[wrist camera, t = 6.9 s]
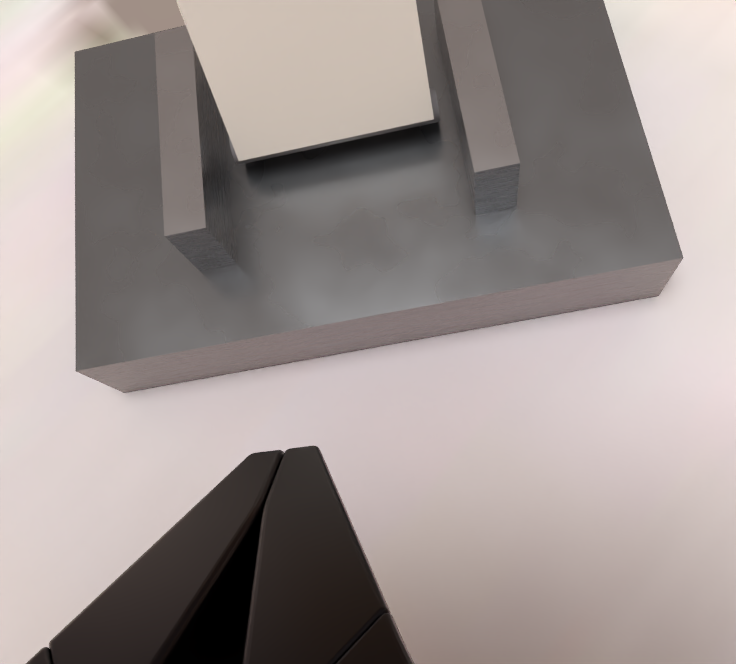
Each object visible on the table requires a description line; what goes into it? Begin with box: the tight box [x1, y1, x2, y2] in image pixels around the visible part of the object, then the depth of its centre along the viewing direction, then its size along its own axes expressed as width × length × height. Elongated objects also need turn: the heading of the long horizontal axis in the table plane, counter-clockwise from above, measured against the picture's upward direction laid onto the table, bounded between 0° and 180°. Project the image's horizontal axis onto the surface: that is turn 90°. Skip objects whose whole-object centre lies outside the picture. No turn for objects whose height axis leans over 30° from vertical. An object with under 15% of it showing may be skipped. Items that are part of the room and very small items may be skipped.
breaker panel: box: [75, 0, 683, 393], centre depth 23 cm, size 12×18×6 cm, turn 98°
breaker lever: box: [176, 0, 440, 165], centre depth 19 cm, size 2×6×8 cm, turn 99°
